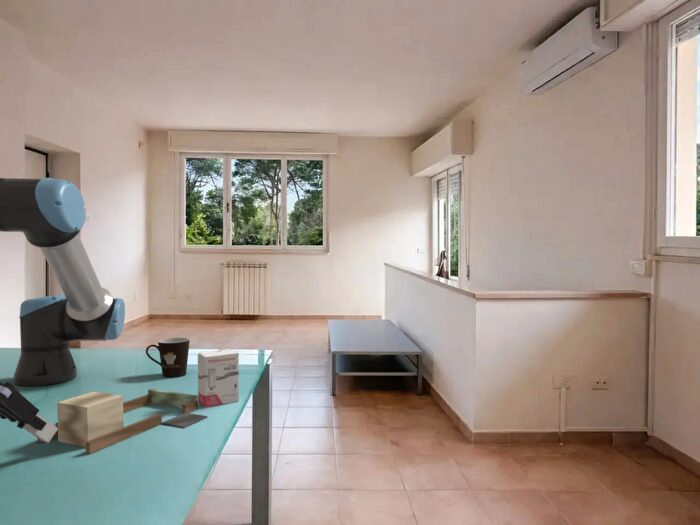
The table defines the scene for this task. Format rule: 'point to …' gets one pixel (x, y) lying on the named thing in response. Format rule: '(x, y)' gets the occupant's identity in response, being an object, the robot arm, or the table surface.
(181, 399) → the channel
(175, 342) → the coffee mug
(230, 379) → the ink box
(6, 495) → the table surface
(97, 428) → the beech block
